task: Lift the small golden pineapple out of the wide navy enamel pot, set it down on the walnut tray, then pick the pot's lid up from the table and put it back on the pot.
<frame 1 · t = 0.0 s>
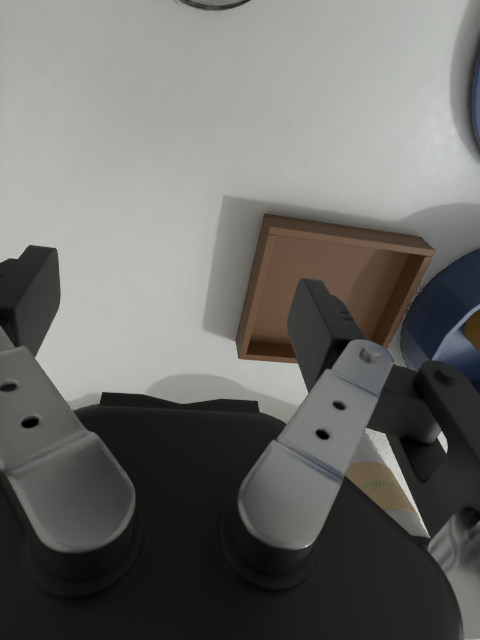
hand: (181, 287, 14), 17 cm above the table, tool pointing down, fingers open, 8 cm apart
coffee cup: (343, 444, 48), on the table
tray: (322, 292, 35), on the table
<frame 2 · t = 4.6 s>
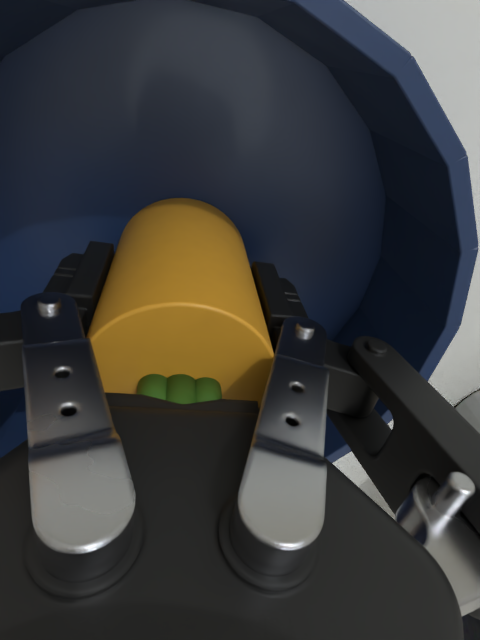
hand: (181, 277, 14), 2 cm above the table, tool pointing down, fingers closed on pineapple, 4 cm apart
pot: (183, 254, 16), on the table
pineapple: (183, 259, 15), resting on pot, touching gripper
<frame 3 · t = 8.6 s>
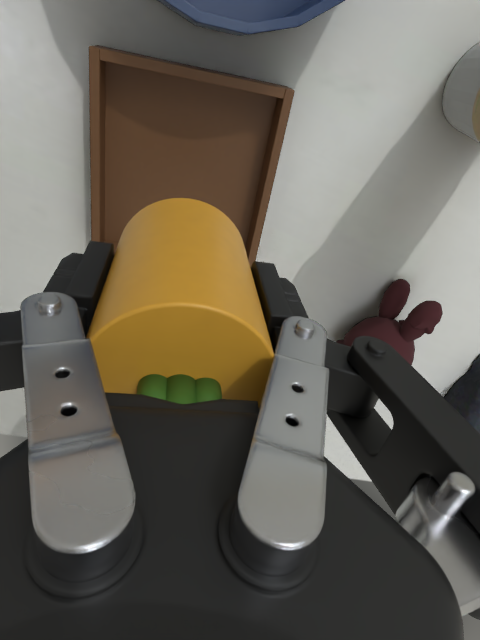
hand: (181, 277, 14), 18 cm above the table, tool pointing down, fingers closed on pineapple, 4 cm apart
tray: (184, 171, 29), on the table
icecream: (360, 335, 40), on the table
pineapple: (183, 259, 15), point 16 cm above the table, touching gripper
when the fingers open (2 cm above the table, at t = 12.6 s): pineapple stays where it is, resting on tray.
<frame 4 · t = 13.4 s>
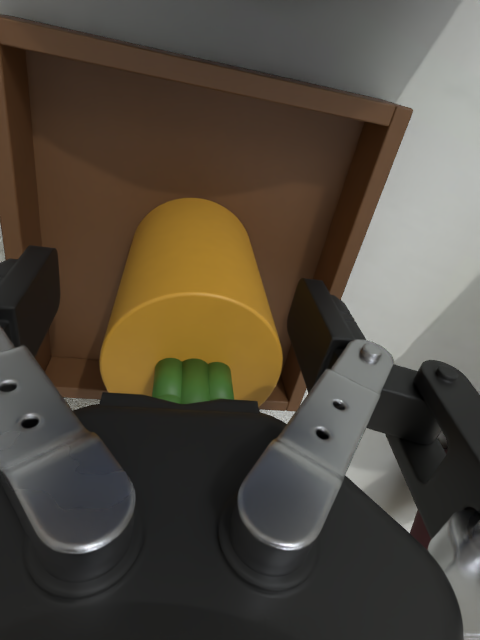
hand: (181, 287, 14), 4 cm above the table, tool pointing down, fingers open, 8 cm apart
tray: (187, 247, 17), on the table
icecream: (443, 458, 27), on the table
pineapple: (192, 255, 16), resting on tray
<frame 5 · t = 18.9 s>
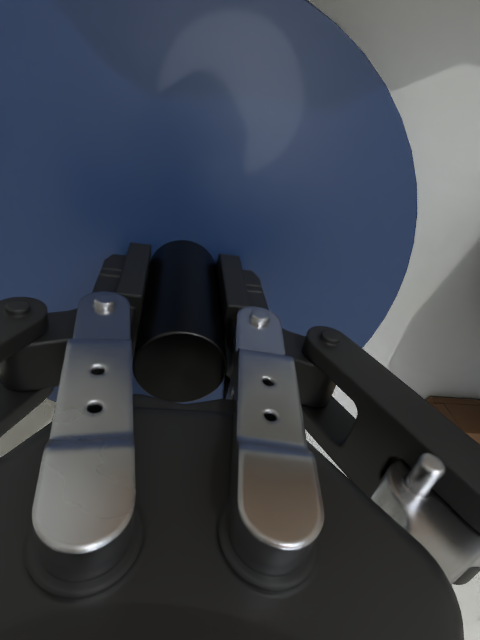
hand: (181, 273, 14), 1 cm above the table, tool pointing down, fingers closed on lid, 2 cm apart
tray: (467, 473, 26), on the table
lid: (183, 263, 15), point 1 cm above the table, touching gripper
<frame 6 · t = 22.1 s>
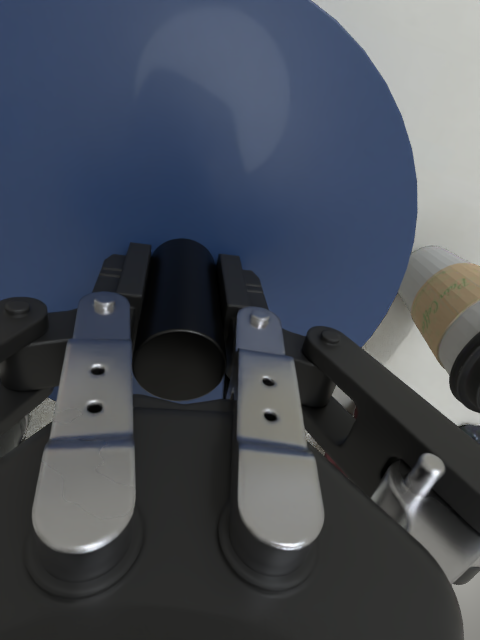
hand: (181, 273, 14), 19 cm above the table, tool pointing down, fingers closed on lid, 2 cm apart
coffee cup: (423, 273, 39), on the table
lid: (182, 262, 15), point 19 cm above the table, touching gripper
when the fingers open (6 cm above the table, at t = 25.8 s): lid stays where it is, resting on pot.
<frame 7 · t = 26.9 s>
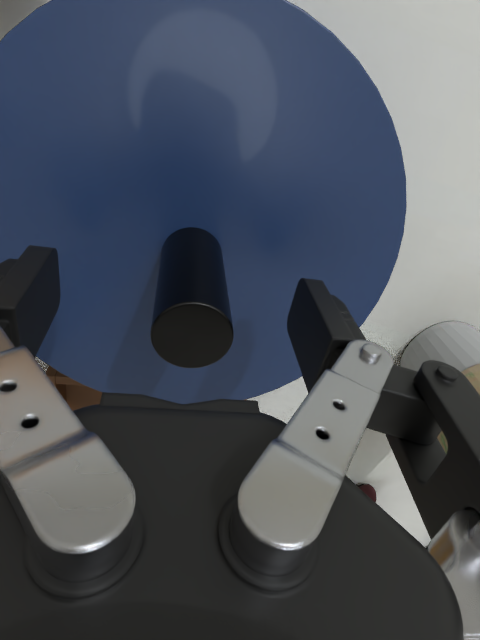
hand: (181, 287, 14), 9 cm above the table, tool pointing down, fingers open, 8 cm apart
coffee cup: (439, 352, 29), on the table
tray: (148, 424, 30), on the table
lid: (192, 249, 17), point 5 cm above the table, touching pot
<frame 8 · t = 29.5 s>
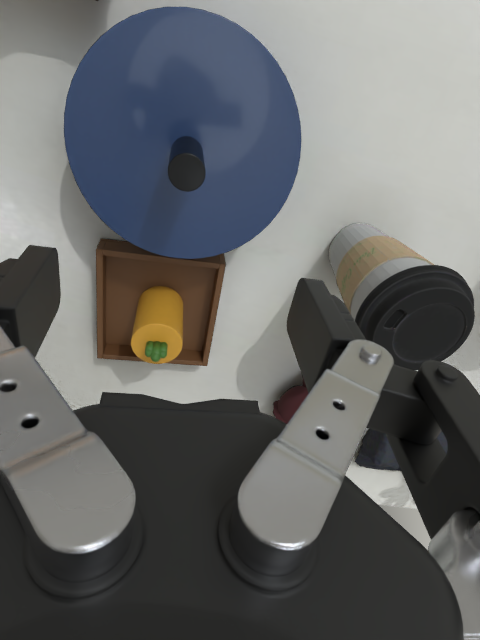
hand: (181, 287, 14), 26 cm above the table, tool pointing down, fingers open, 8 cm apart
coffee cup: (355, 248, 43), on the table
tray: (159, 301, 44), on the table
lid: (186, 151, 31), point 5 cm above the table, touching pot
icecream: (293, 395, 55), on the table
dark slate chunk: (427, 436, 63), on the table
pineapple: (160, 305, 44), resting on tray
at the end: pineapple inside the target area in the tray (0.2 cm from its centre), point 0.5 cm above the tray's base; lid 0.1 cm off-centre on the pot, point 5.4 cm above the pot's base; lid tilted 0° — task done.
